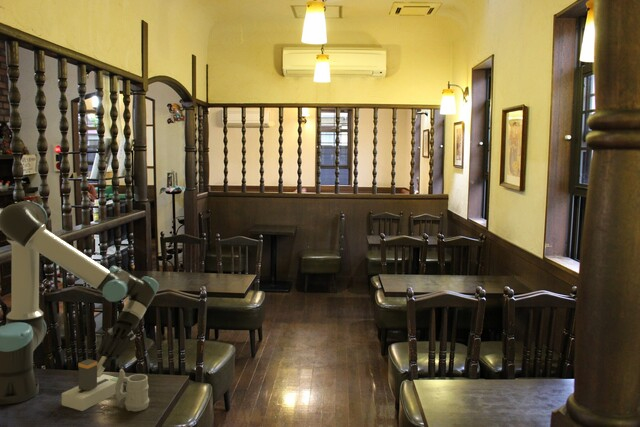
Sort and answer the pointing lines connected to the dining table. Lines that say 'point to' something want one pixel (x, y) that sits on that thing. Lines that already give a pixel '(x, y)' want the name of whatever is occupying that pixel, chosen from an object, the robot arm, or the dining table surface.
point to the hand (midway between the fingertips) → (95, 375)
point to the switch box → (90, 393)
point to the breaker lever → (87, 374)
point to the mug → (133, 391)
